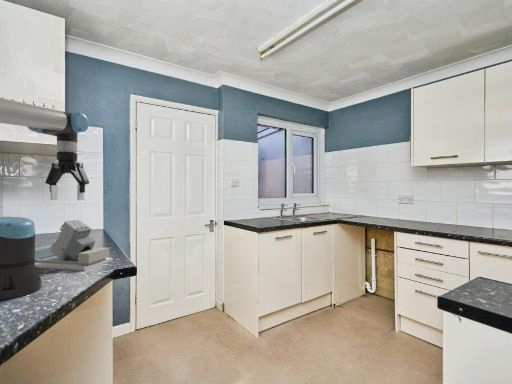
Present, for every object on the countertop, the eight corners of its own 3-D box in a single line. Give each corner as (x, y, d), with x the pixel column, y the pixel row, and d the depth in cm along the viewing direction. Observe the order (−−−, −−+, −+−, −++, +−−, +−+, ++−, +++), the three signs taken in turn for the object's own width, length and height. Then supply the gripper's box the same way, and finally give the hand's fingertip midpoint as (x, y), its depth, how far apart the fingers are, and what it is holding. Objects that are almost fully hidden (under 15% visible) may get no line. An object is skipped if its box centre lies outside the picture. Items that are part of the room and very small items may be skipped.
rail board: (84, 270, 112) (84, 254, 112) (19, 266, 118) (19, 251, 118) (112, 260, 127) (112, 246, 127) (53, 257, 133) (53, 244, 133)
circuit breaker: (73, 269, 118) (89, 239, 116) (49, 250, 120) (64, 221, 118) (87, 264, 125) (102, 236, 123) (64, 247, 127) (78, 219, 126)
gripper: (98, 152, 123) (98, 200, 124) (51, 153, 128) (51, 199, 128) (85, 150, 116) (85, 200, 116) (35, 151, 121) (35, 200, 121)
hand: (67, 200), depth 122 cm, fingers open, 13 cm apart
